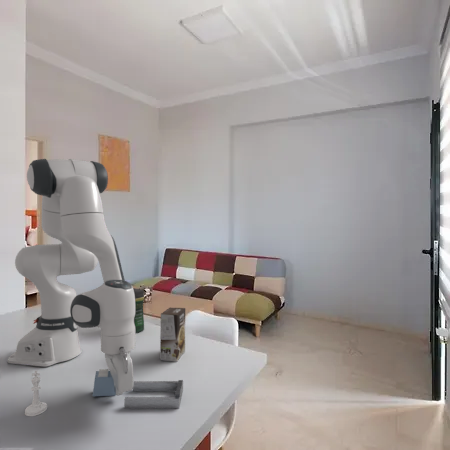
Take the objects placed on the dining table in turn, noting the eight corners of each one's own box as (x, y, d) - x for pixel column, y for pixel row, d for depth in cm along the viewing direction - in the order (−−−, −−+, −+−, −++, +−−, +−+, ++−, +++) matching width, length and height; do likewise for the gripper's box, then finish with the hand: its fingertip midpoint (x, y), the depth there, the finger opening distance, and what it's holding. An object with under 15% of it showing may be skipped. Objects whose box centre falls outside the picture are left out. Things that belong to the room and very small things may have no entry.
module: (92, 396, 85) (95, 375, 86) (93, 388, 89) (96, 368, 89) (115, 395, 87) (118, 375, 87) (116, 388, 91) (118, 368, 91)
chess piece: (31, 405, 82) (30, 366, 82) (50, 404, 83) (50, 366, 83) (20, 416, 78) (20, 376, 77) (41, 416, 78) (41, 375, 78)
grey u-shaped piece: (124, 408, 81) (124, 396, 81) (133, 389, 90) (133, 378, 90) (179, 408, 81) (179, 395, 81) (183, 389, 90) (183, 378, 90)
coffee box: (177, 362, 108) (177, 314, 107) (159, 360, 109) (159, 313, 109) (186, 351, 117) (186, 307, 116) (169, 349, 118) (169, 306, 118)
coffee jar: (147, 330, 138) (147, 288, 137) (132, 336, 131) (132, 291, 131) (133, 326, 143) (133, 285, 143) (118, 331, 137) (118, 288, 137)
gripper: (139, 353, 78) (140, 409, 78) (122, 328, 95) (123, 374, 96) (112, 358, 74) (113, 417, 75) (100, 331, 92) (100, 379, 93)
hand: (118, 392), depth 85 cm, fingers closed
